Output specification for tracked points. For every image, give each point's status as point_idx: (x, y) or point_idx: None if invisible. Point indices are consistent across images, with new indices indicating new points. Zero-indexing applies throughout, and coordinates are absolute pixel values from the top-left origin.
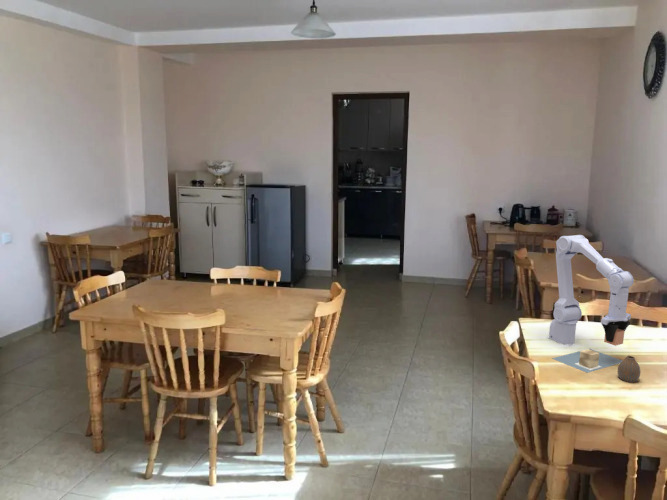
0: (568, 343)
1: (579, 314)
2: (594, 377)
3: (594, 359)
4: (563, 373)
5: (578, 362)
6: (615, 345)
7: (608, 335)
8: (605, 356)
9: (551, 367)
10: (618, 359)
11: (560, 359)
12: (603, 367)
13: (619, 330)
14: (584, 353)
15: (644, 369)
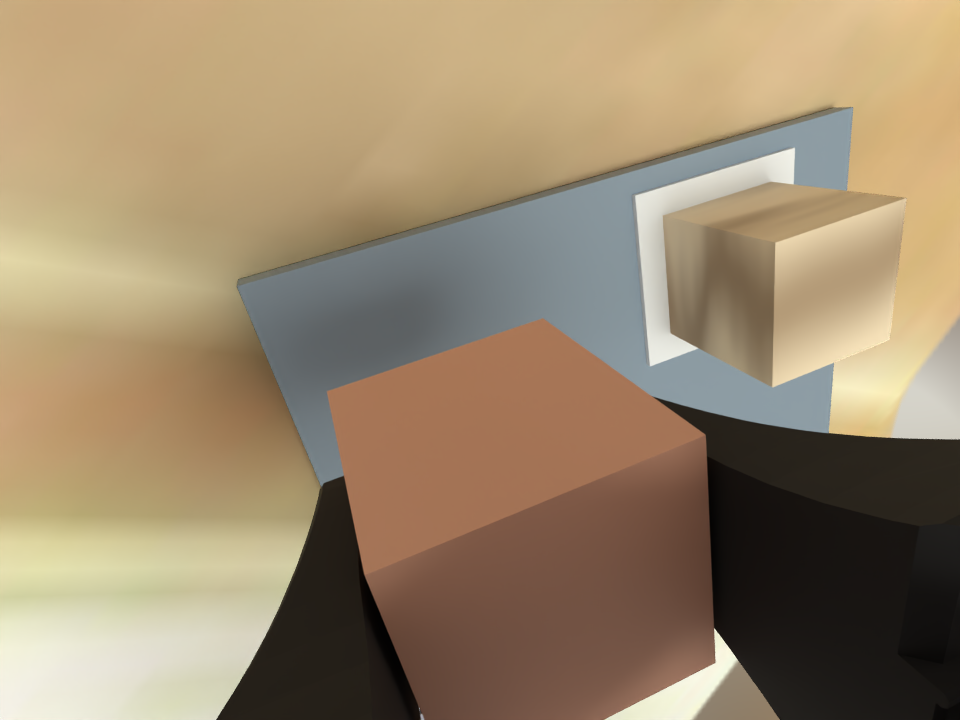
0: None
1: None
2: (825, 32)
3: (790, 208)
4: (940, 193)
5: None
6: (540, 320)
7: None
8: None
9: (911, 316)
10: (286, 358)
11: (794, 418)
12: (625, 182)
13: (506, 582)
14: (885, 287)
15: (82, 35)
